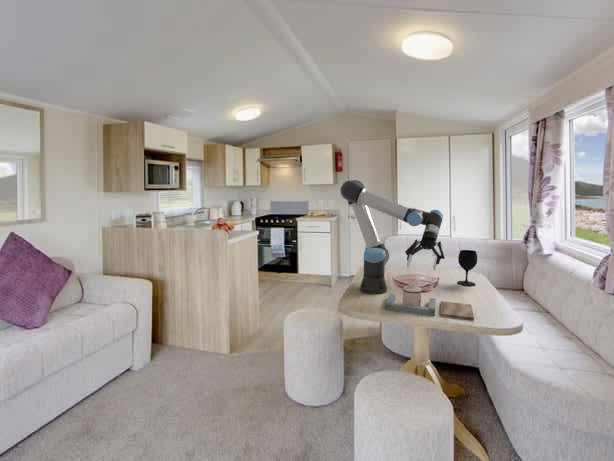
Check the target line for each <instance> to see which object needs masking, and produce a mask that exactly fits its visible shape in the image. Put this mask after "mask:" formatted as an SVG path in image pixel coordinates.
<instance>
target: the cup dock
mask: <svg viewBox="0 0 614 461" xmlns="http://www.w3.org/2000/svg"><path fill="white" fill-rule="evenodd" d="M396 295H397V294H396V293H389V295H388V296H387V299H386V301H385V303H384V311H385V310H386V311H394V312H400V313H401V312H403V313H409V314H418V315H427V316H436V306H437V304H436V302H437V299H436V298H435V297H429V300H428V301H429V302H428V307H426V306H421V307H419V306H411V305H403V303H402V304H401V303H395V300H396V298H397V297H396Z"/></svg>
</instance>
